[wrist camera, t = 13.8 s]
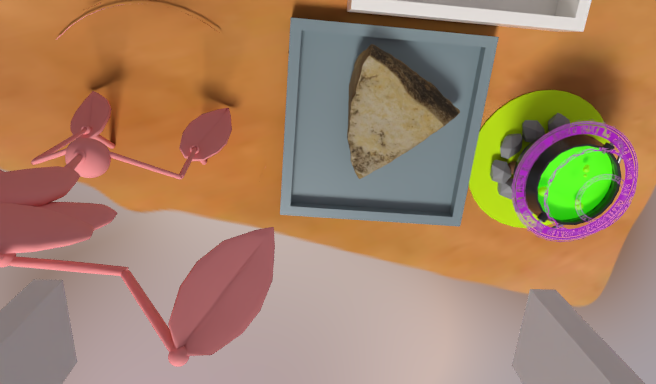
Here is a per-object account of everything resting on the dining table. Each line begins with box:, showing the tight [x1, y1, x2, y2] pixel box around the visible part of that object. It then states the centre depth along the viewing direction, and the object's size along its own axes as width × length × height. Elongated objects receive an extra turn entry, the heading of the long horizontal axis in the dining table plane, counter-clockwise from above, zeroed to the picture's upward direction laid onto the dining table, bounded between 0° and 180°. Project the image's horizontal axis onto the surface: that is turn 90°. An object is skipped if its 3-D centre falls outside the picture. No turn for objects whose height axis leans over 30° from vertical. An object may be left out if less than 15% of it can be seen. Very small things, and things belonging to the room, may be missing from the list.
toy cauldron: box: [469, 90, 638, 242], centre depth 42 cm, size 15×15×11 cm
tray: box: [280, 18, 499, 226], centre depth 44 cm, size 19×19×2 cm
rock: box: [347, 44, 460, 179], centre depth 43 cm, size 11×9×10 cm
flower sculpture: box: [0, 3, 275, 367], centre depth 26 cm, size 15×26×35 cm, turn 79°
